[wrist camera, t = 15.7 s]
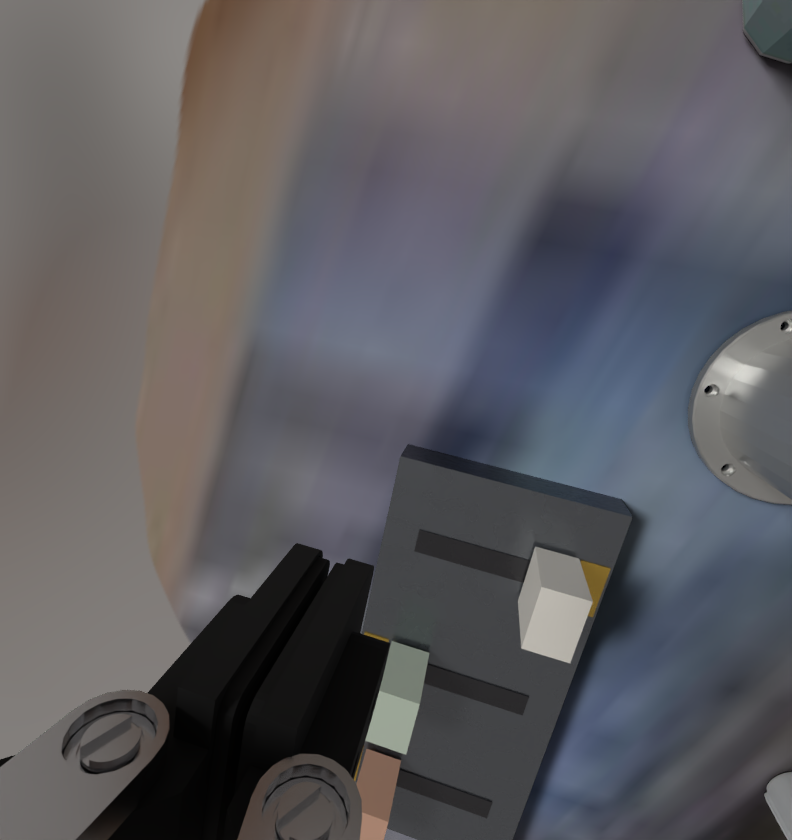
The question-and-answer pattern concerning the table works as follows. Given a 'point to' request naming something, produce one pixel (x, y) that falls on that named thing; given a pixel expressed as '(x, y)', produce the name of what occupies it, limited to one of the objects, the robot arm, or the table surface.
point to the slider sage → (398, 698)
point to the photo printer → (781, 801)
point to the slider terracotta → (376, 793)
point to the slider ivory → (553, 605)
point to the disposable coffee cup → (769, 27)
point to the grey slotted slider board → (478, 633)
